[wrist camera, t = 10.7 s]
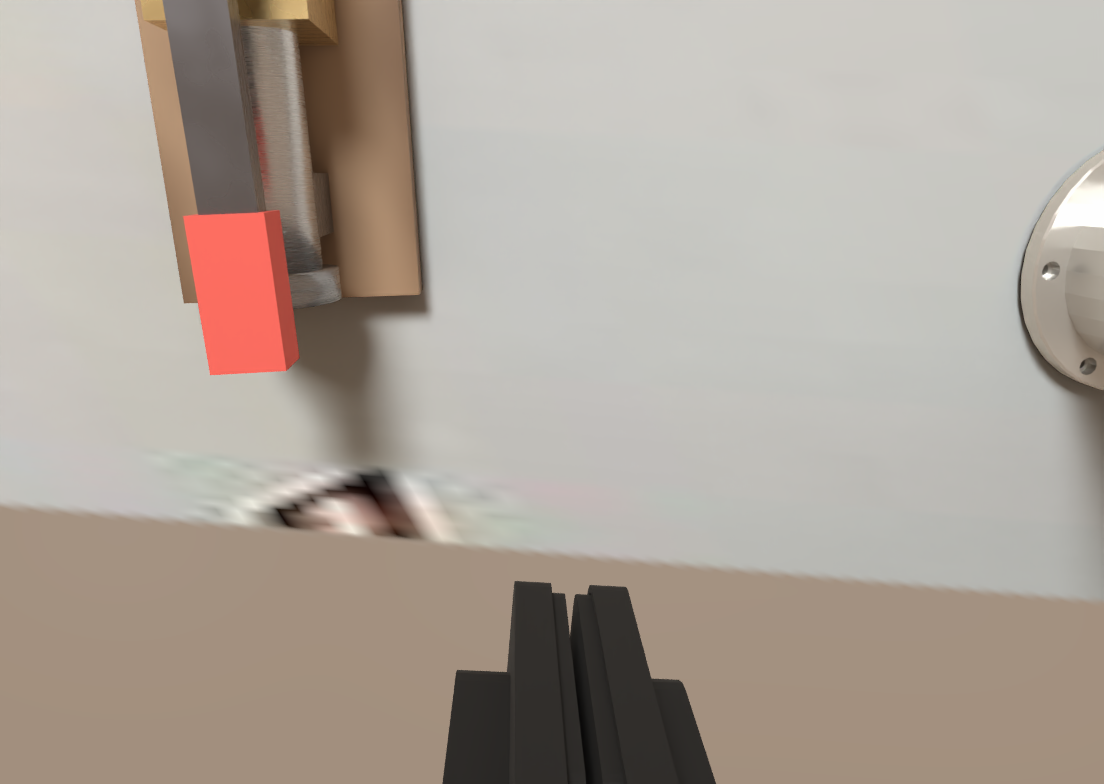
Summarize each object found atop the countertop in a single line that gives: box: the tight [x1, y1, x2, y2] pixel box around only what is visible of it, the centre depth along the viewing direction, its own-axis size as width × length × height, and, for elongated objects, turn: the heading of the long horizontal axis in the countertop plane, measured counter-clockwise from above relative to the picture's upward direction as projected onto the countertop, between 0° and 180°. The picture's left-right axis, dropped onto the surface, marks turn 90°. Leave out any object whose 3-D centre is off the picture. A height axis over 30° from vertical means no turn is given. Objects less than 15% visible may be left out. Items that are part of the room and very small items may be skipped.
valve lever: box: [162, 0, 299, 375], centre depth 23 cm, size 15×2×2 cm, turn 2°
